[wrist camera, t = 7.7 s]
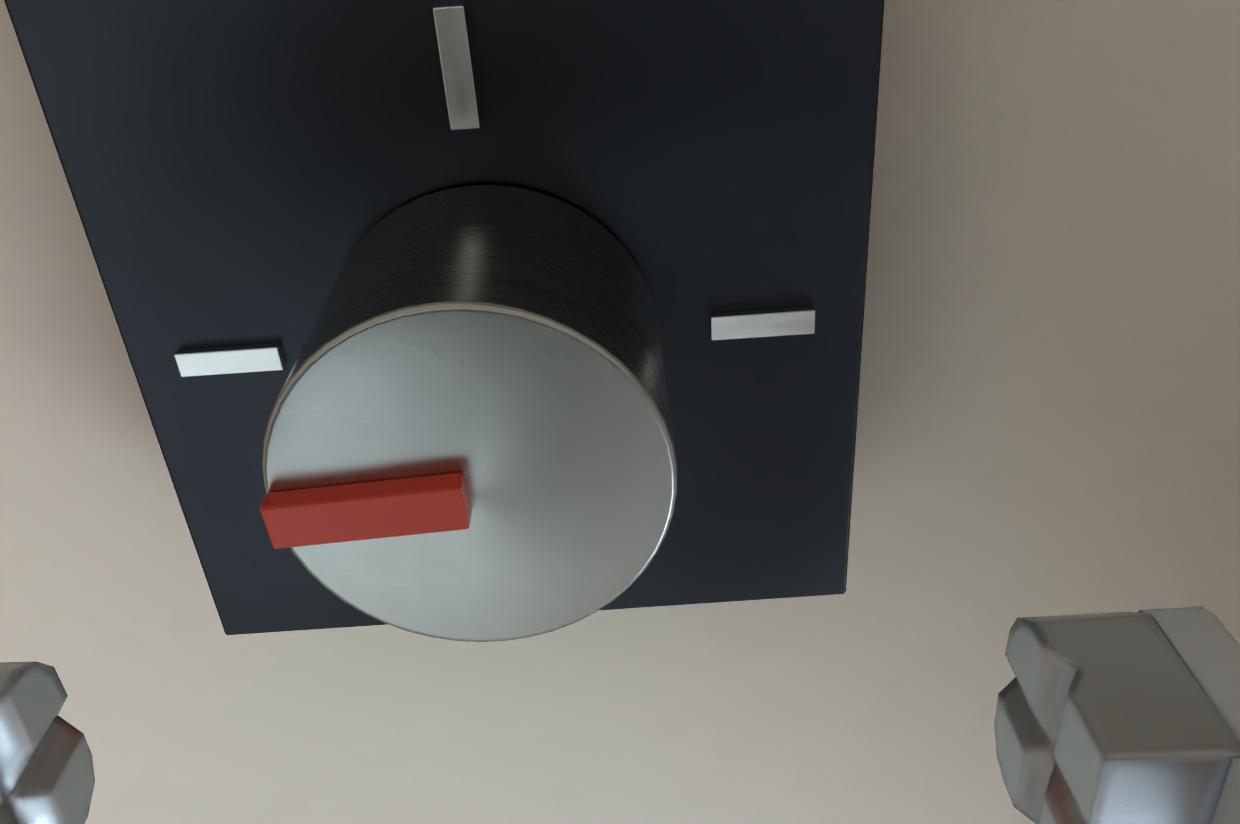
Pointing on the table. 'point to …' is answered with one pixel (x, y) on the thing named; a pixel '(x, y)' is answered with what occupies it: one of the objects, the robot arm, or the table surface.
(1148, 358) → the table surface
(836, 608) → the table surface
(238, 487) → the panel
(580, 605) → the knob
